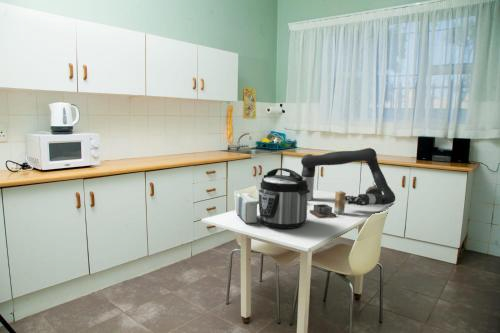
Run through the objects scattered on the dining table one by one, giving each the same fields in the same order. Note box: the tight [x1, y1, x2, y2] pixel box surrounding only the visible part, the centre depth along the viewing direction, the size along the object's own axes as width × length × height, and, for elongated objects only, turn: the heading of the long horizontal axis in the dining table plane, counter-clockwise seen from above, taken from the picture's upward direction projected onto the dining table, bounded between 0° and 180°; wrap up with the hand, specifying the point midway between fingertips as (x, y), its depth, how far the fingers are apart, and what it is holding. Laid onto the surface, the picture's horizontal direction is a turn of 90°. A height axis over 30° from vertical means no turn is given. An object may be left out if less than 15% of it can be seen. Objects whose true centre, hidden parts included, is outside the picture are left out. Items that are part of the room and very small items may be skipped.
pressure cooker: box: [258, 167, 310, 229], centre depth 203 cm, size 30×28×32 cm
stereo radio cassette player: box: [235, 189, 259, 224], centre depth 210 cm, size 21×8×20 cm, turn 17°
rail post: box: [333, 190, 347, 216], centre depth 227 cm, size 4×4×14 cm
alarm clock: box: [365, 180, 383, 195], centre depth 257 cm, size 11×5×16 cm, turn 84°
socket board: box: [309, 203, 337, 219], centre depth 224 cm, size 12×12×6 cm
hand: (344, 200), depth 228 cm, fingers open, 8 cm apart
